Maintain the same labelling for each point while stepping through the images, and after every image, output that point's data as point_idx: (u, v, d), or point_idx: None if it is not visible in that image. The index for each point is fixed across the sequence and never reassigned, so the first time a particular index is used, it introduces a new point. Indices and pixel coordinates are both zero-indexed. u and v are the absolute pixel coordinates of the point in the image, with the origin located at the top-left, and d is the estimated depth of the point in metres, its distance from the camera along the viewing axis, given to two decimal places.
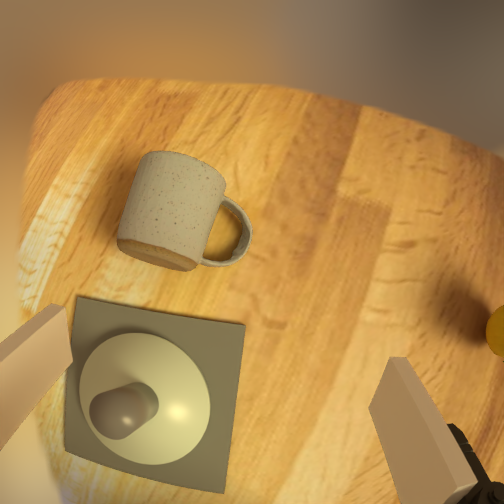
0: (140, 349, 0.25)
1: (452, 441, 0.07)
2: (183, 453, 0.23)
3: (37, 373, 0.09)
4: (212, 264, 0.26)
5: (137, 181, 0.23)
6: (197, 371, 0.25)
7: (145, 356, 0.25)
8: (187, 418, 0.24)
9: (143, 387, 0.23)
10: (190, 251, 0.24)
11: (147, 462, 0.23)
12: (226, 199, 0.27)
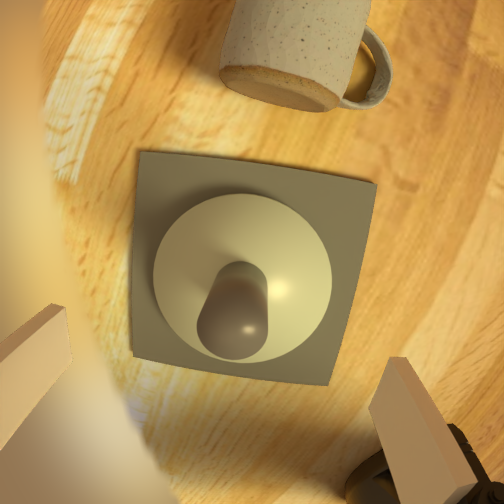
0: (243, 216, 0.20)
1: (452, 441, 0.07)
2: (293, 346, 0.22)
3: (37, 373, 0.09)
4: (351, 106, 0.17)
5: None
6: (320, 243, 0.20)
7: (251, 225, 0.20)
8: (303, 303, 0.21)
9: (252, 270, 0.20)
10: (341, 88, 0.15)
11: (247, 360, 0.23)
12: (366, 27, 0.16)
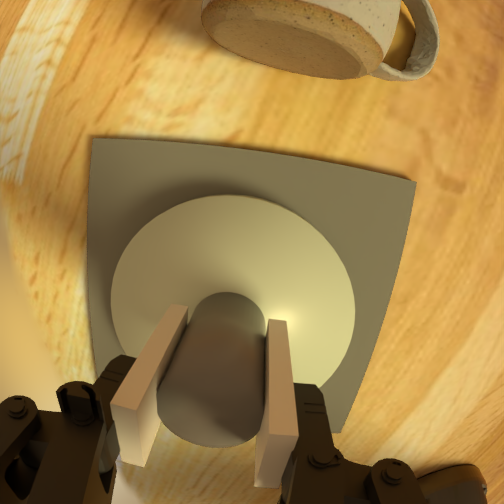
0: (229, 229, 0.14)
1: (293, 395, 0.09)
2: None
3: None
4: (391, 73, 0.11)
5: None
6: (341, 265, 0.14)
7: (241, 242, 0.14)
8: (315, 346, 0.15)
9: (243, 307, 0.13)
10: (387, 39, 0.08)
11: None
12: None
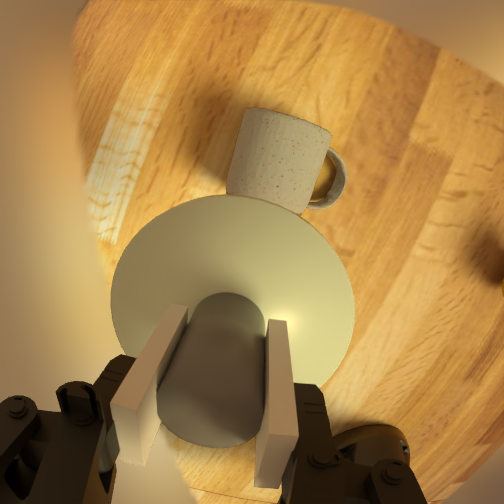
0: (229, 229, 0.14)
1: (293, 395, 0.09)
2: None
3: None
4: (312, 208, 0.29)
5: (251, 140, 0.24)
6: (341, 266, 0.14)
7: (240, 242, 0.14)
8: (315, 346, 0.15)
9: (243, 308, 0.13)
10: (302, 208, 0.26)
11: None
12: (328, 149, 0.27)
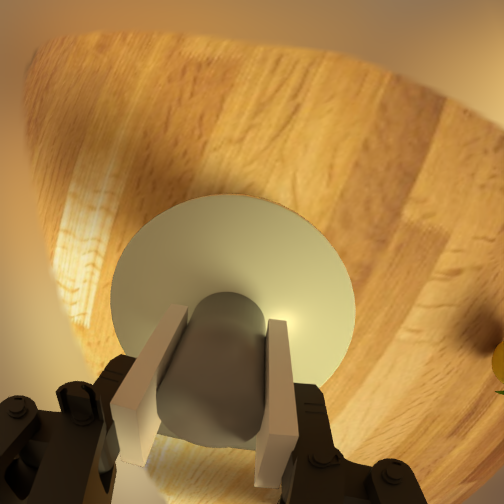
0: (229, 228, 0.14)
1: (293, 395, 0.09)
2: None
3: None
4: None
5: None
6: (342, 265, 0.14)
7: (241, 241, 0.14)
8: (315, 346, 0.15)
9: (243, 307, 0.13)
10: None
11: None
12: None
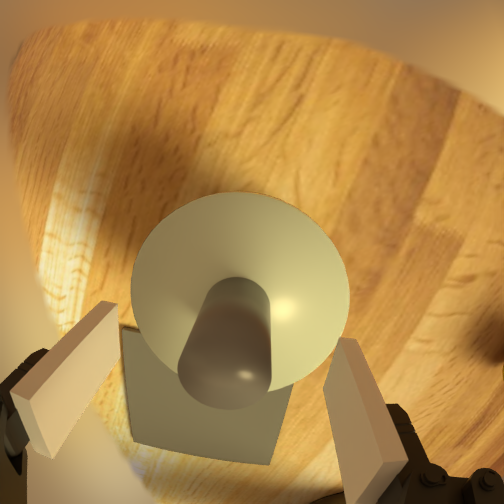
0: (237, 221, 0.16)
1: (388, 418, 0.08)
2: (302, 374, 0.18)
3: (93, 369, 0.10)
4: None
5: None
6: (336, 252, 0.16)
7: (248, 232, 0.16)
8: (315, 325, 0.17)
9: (251, 289, 0.16)
10: None
11: None
12: None
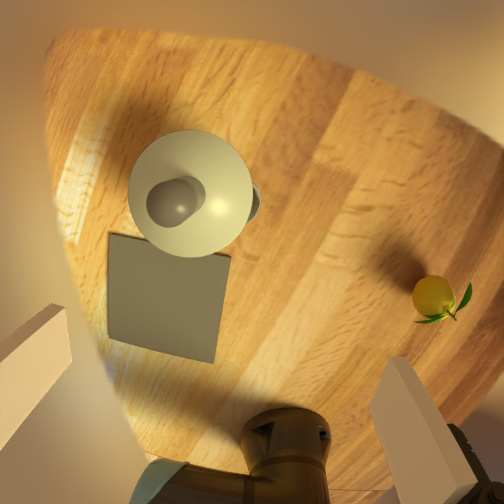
0: (189, 144, 0.28)
1: (452, 441, 0.07)
2: (225, 243, 0.30)
3: (37, 373, 0.09)
4: None
5: None
6: (243, 162, 0.28)
7: (194, 151, 0.28)
8: (232, 208, 0.29)
9: (193, 179, 0.28)
10: None
11: (192, 255, 0.31)
12: None
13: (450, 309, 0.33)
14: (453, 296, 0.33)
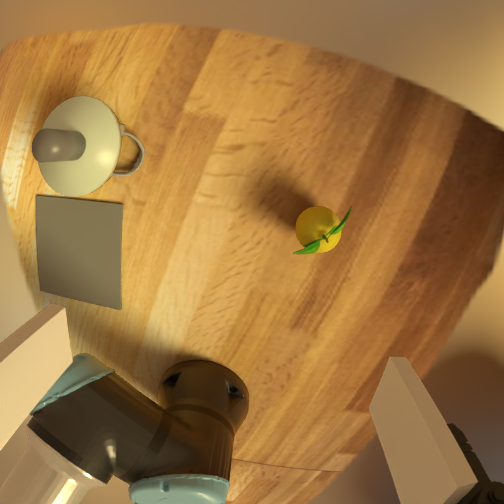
0: (75, 107, 0.31)
1: (452, 441, 0.07)
2: (101, 180, 0.33)
3: (37, 373, 0.09)
4: (119, 176, 0.39)
5: None
6: (110, 113, 0.31)
7: (78, 111, 0.31)
8: (104, 150, 0.32)
9: (74, 131, 0.30)
10: None
11: (79, 194, 0.33)
12: (125, 134, 0.37)
13: (328, 235, 0.35)
14: (332, 222, 0.35)
